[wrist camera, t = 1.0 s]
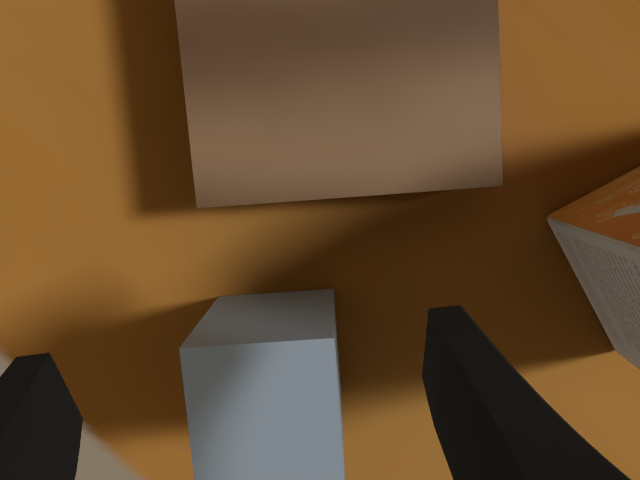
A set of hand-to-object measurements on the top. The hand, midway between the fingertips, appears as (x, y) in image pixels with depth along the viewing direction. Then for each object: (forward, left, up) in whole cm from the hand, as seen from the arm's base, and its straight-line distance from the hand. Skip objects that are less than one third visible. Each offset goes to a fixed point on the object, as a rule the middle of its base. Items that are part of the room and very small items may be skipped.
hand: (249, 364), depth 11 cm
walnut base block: (+7, -2, -11) cm, 14 cm away
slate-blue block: (-4, +1, -11) cm, 12 cm away
